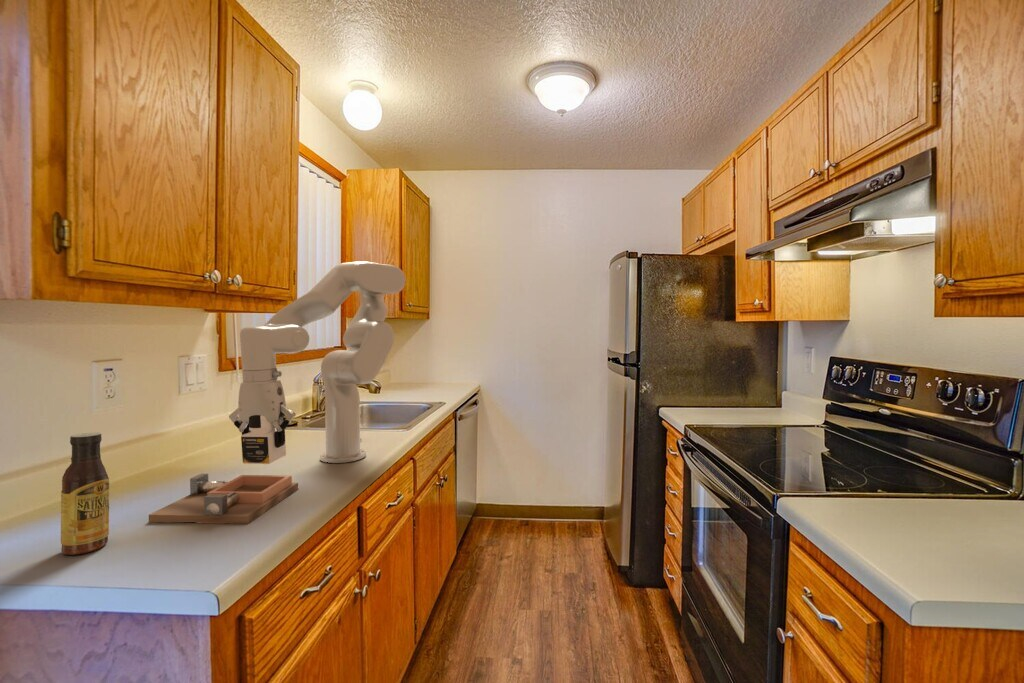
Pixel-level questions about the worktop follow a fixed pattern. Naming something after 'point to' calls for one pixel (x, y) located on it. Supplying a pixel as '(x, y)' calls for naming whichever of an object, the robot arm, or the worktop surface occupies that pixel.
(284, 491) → the square clamping fixture
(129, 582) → the worktop surface
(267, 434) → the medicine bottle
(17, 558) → the worktop surface
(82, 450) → the sauce bottle
